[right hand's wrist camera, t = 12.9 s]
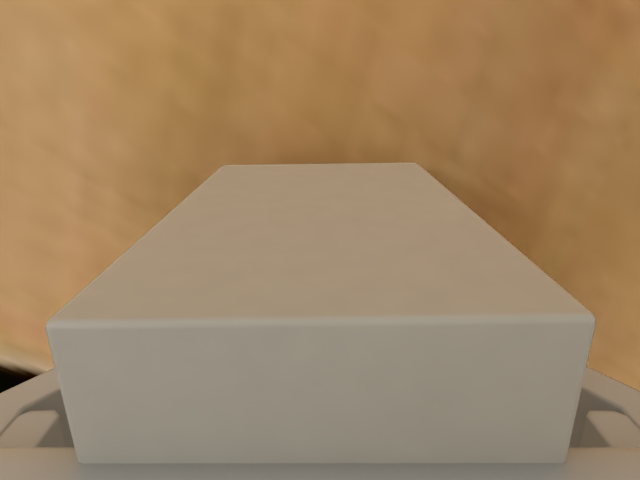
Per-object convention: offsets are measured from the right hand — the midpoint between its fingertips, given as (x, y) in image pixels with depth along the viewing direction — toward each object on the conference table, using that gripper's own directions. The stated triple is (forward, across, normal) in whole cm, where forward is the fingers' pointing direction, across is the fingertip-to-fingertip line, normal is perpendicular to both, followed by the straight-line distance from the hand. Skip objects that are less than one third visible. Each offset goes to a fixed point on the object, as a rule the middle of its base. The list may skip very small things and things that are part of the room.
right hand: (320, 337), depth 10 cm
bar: (+3, 0, +10) cm, 11 cm away
